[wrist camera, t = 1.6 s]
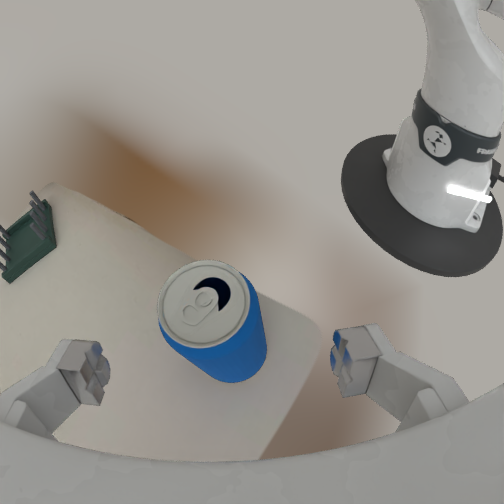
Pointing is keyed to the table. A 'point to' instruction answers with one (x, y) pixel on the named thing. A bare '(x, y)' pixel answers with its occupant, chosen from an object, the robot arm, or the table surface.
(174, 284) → the beverage can
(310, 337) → the table surface
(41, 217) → the drying rack
